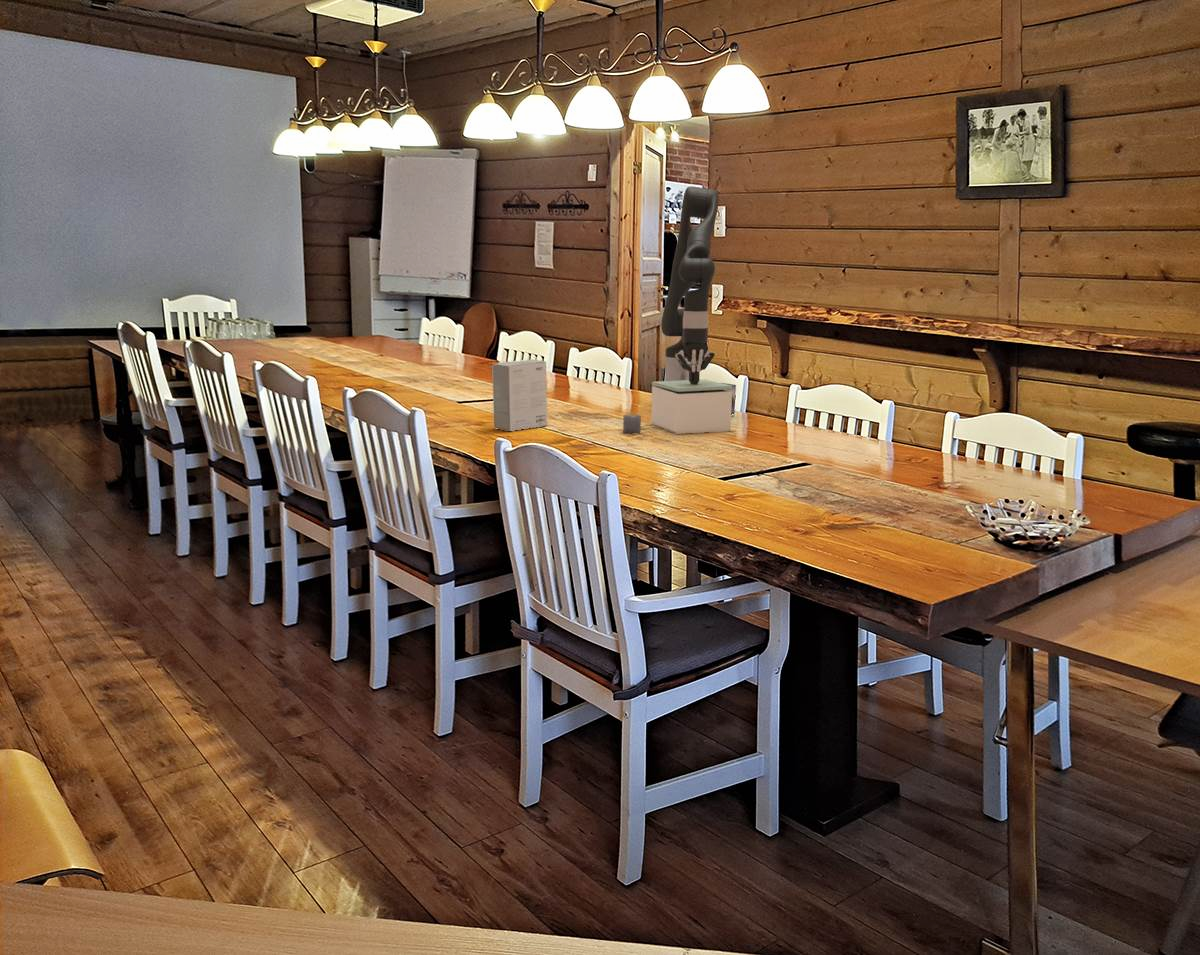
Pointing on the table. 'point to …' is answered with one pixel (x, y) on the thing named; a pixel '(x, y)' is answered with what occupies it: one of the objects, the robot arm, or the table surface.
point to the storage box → (691, 410)
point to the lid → (686, 386)
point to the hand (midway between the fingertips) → (693, 384)
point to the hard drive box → (519, 394)
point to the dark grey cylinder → (631, 423)
